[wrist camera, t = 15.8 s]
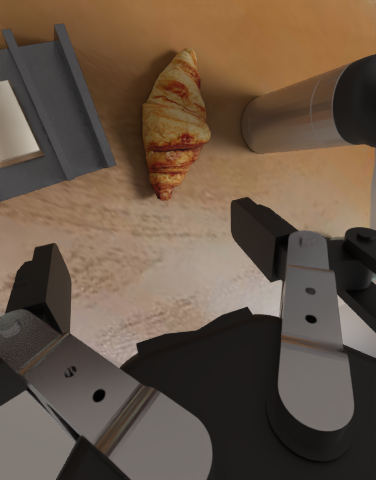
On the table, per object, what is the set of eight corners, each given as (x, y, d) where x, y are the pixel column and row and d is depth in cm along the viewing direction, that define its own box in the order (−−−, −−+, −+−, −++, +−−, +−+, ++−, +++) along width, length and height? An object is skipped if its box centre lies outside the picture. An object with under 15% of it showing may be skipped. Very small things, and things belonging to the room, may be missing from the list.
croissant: (156, 54, 42) (147, 19, 34) (222, 65, 42) (228, 33, 34) (136, 195, 45) (123, 193, 37) (198, 206, 44) (198, 206, 36)
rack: (62, 43, 34) (64, 21, 29) (109, 166, 39) (117, 164, 34) (-87, 67, 29) (-115, 46, 24) (-10, 204, 34) (-20, 209, 29)
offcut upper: (10, 85, 30) (7, 80, 28) (40, 151, 32) (39, 149, 31) (-38, 95, 29) (-44, 90, 27) (-3, 163, 31) (-6, 162, 29)
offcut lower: (12, 85, 32) (9, 80, 30) (44, 155, 34) (44, 154, 33) (-38, 95, 30) (-43, 90, 28) (0, 168, 33) (-3, 168, 31)
